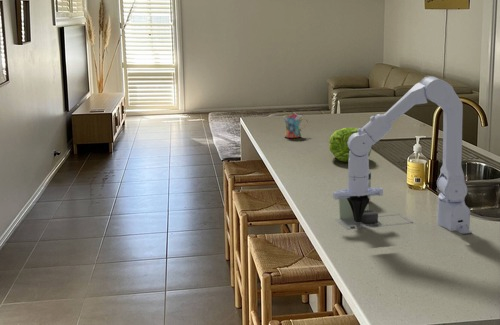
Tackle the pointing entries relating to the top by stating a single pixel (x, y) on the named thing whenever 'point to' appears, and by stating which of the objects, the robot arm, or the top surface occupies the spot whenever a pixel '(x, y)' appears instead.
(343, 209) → the cover
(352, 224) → the grey ball tray
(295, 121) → the mug
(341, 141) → the lettuce
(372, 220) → the dark grey pebble
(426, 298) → the top surface
